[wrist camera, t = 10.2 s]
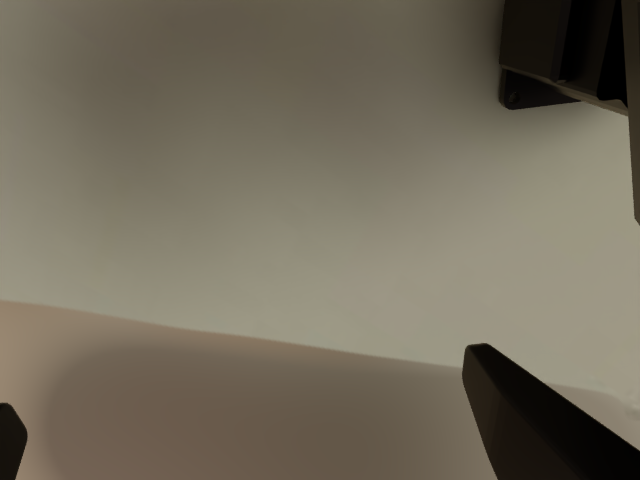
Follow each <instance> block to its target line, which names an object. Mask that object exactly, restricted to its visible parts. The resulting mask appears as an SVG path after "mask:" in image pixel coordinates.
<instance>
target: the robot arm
mask: <svg viewBox="0 0 640 480" xmlns="http://www.w3.org/2000/svg"><path fill="white" fill-rule="evenodd" d="M499 64H500V65H501V66H502V77H501V87H500V97H499V99H500V103H501V105H502V106H503V107H505V108H507V109H509V110H516V109H524V108H532V107H540V106H548V105H556V104H564V103H572V102H580V101H584V102H587V103H590V104H593V105H596V106H599V107H601V108H604V109H607V110H610V111H613V112H616V113H619V114H622V115H625V116H628V118H629V135H630V151H631V167H632V183H633V200H634V216H635V219H636V221H637V222H638V224H639V225H640V0H505V4H504V15H503V25H502V35H501V45H500V55H499ZM514 92H516V98H515V99H514V100H513V101H512V102H509V97H510V95H511V94H512V93H514ZM462 379H463V385H464V388H465V391H466V394H467V397H468V400H469V403H470V405H471V409H472V412H473V414H474V417H475V420H476V423H477V426H478V429H479V432H480V435H481V438H482V441H483V444H484V447H485V450H486V453H487V455H488V458H489V460H490V463H491V465H492V468H493V470H494V472H495V474H496V476H497V479H498V480H640V451H639V450H638V449H637V448H635V447H634V446H632V445H631V444H630V443H628V442H627V441H625V440H624V439H622V438H621V437H620V436H618V435H617V434H615V433H614V432H613V431H611V430H610V429H608V428H607V427H605V426H604V425H603V424H601V423H600V422H598V421H597V420H596V419H594V418H593V417H591V416H590V415H588V414H587V413H586V412H584V411H583V410H581V409H580V408H579V407H577V406H576V405H574V404H572V403H571V402H570V401H569V400H567V399H566V398H564V397H563V396H562V395H560V394H559V393H557V392H556V391H555V390H553V389H552V388H550V387H549V386H547V385H546V384H545V383H543V382H542V381H540V380H539V379H538V378H536V377H535V376H533V375H532V374H530V373H529V372H528V371H526V370H525V369H523V368H522V367H521V366H519V365H518V364H516V363H515V362H514V361H512V360H511V359H509V358H508V357H506V356H505V355H504V354H502V353H501V352H499V351H498V350H497V349H495V348H494V347H492V346H491V345H489V344H487V343H480V344H472V345H468V346H467V347H466V349H465V354H464V362H463V371H462ZM26 443H27V430H26V428H25V426H24V424H23V422H22V421H21V419H20V418H19V416H18V415H17V413H16V411H15V410H14V409H13V407H12V406H11V405H10V404H8V403H0V480H15V479H16V475H17V472H18V469H19V466H20V463H21V459H22V456H23V453H24V450H25V446H26Z"/></svg>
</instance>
